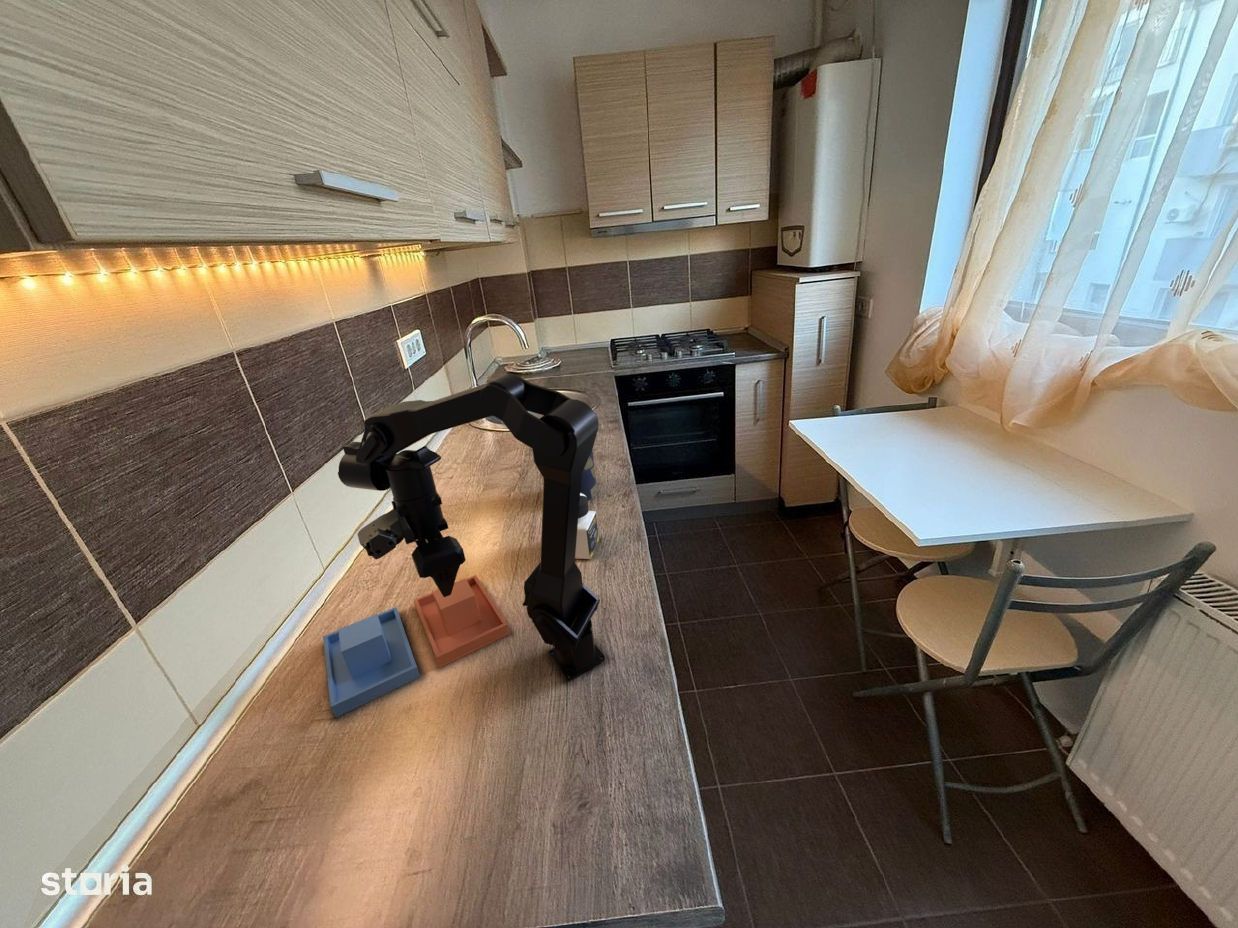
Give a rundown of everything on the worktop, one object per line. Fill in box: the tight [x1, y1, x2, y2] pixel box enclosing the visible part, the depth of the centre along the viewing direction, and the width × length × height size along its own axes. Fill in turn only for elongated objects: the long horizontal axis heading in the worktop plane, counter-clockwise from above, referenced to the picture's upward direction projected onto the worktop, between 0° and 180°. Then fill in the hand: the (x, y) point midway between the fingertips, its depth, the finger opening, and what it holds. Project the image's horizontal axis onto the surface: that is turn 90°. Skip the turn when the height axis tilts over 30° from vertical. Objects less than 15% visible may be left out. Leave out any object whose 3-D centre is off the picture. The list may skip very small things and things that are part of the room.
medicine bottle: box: [575, 493, 600, 560], centre depth 95 cm, size 7×7×12 cm
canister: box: [580, 449, 598, 501], centre depth 114 cm, size 10×10×18 cm
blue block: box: [337, 613, 392, 679], centre depth 72 cm, size 6×6×6 cm
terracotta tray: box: [413, 574, 510, 668], centre depth 80 cm, size 16×11×2 cm
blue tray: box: [322, 606, 421, 718], centre depth 73 cm, size 16×11×2 cm
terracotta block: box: [431, 578, 481, 636], centre depth 79 cm, size 6×6×6 cm
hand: (439, 580), depth 74 cm, fingers open, 9 cm apart
